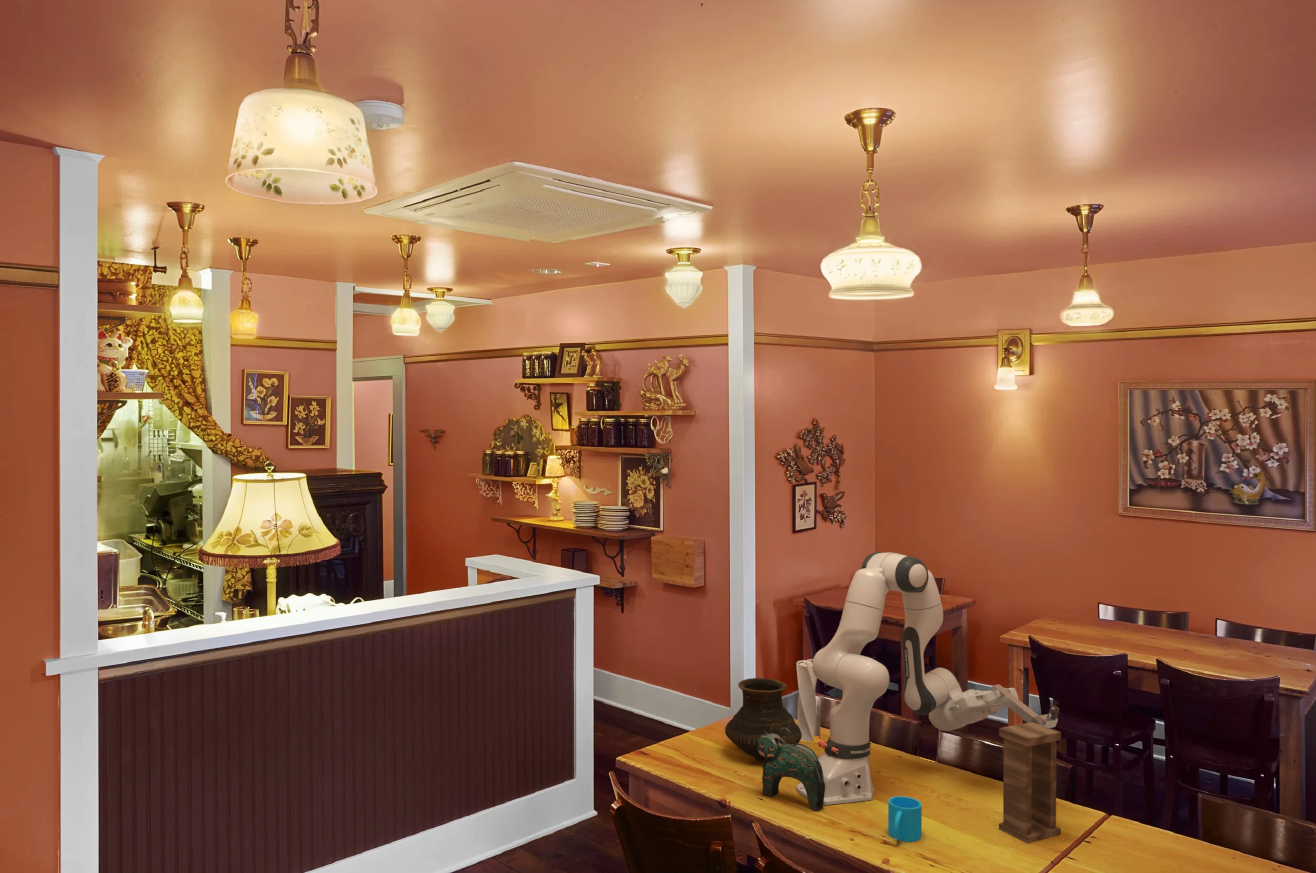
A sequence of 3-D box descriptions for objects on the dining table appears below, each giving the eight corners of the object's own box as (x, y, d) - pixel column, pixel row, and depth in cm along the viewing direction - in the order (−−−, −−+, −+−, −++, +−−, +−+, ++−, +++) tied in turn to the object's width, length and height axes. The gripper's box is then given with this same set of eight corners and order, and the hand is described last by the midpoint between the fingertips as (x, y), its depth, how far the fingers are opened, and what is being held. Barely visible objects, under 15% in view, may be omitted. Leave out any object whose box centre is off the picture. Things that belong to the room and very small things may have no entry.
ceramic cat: (755, 794, 246) (755, 723, 246) (767, 788, 251) (768, 718, 251) (817, 814, 233) (817, 739, 233) (829, 806, 238) (829, 733, 238)
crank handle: (990, 692, 249) (996, 676, 247) (1008, 689, 252) (1014, 673, 251) (1037, 730, 235) (1043, 713, 233) (1055, 726, 238) (1061, 709, 237)
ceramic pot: (711, 756, 276) (711, 685, 276) (750, 737, 295) (750, 670, 295) (778, 774, 261) (778, 699, 262) (814, 752, 281) (814, 682, 281)
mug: (893, 825, 227) (893, 793, 227) (925, 832, 222) (925, 800, 223) (879, 842, 217) (879, 809, 217) (911, 850, 212) (912, 817, 212)
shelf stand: (1027, 843, 217) (1027, 738, 217) (998, 829, 225) (999, 728, 225) (1060, 834, 222) (1061, 732, 223) (1031, 820, 230) (1031, 722, 231)
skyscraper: (820, 745, 288) (820, 660, 289) (795, 743, 290) (795, 659, 290) (820, 737, 297) (821, 654, 297) (796, 735, 298) (797, 653, 299)
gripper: (942, 699, 254) (973, 686, 243) (992, 690, 263) (1025, 677, 252) (950, 721, 251) (982, 708, 240) (1001, 711, 260) (1034, 699, 249)
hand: (1005, 692), depth 246 cm, fingers closed on crank handle, 2 cm apart
